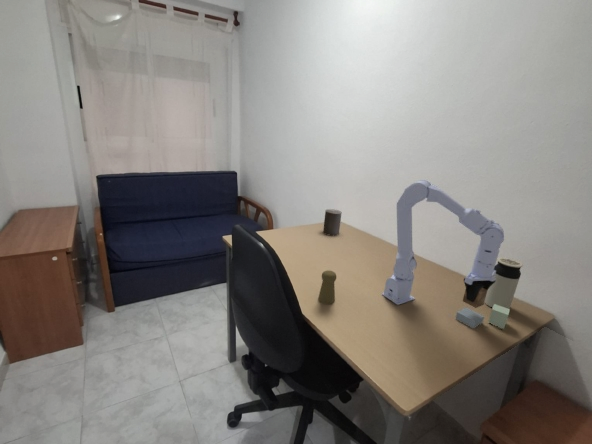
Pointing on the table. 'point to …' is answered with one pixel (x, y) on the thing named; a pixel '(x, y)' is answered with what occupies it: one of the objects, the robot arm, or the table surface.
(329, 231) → the pillar candle
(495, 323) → the sage block
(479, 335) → the table surface
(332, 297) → the olive pawn
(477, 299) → the walnut block
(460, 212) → the robot arm
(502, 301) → the travel mug
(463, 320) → the slate slab
